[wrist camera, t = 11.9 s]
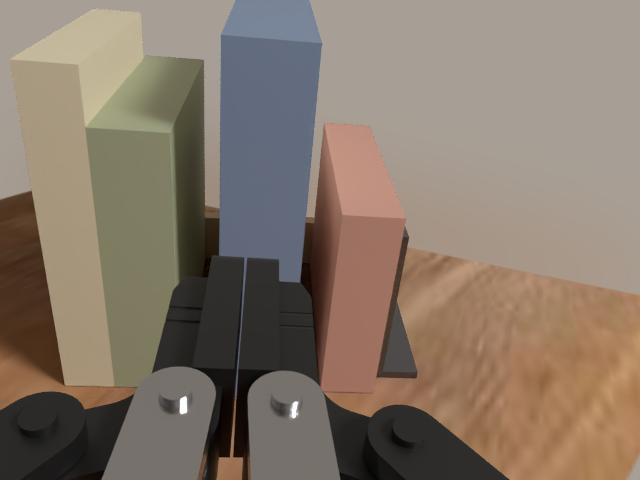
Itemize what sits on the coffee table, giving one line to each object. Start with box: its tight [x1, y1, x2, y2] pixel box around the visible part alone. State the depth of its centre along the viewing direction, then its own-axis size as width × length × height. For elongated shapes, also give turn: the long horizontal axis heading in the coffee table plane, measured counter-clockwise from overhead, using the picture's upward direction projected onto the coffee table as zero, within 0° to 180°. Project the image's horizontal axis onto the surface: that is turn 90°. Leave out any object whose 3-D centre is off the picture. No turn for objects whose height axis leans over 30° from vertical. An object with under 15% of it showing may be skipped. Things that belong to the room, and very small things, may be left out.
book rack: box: [10, 9, 406, 393], centre depth 39 cm, size 21×16×20 cm
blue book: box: [219, 0, 322, 397], centre depth 38 cm, size 5×16×22 cm, turn 3°
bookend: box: [376, 227, 418, 378], centre depth 42 cm, size 3×12×11 cm, turn 3°
